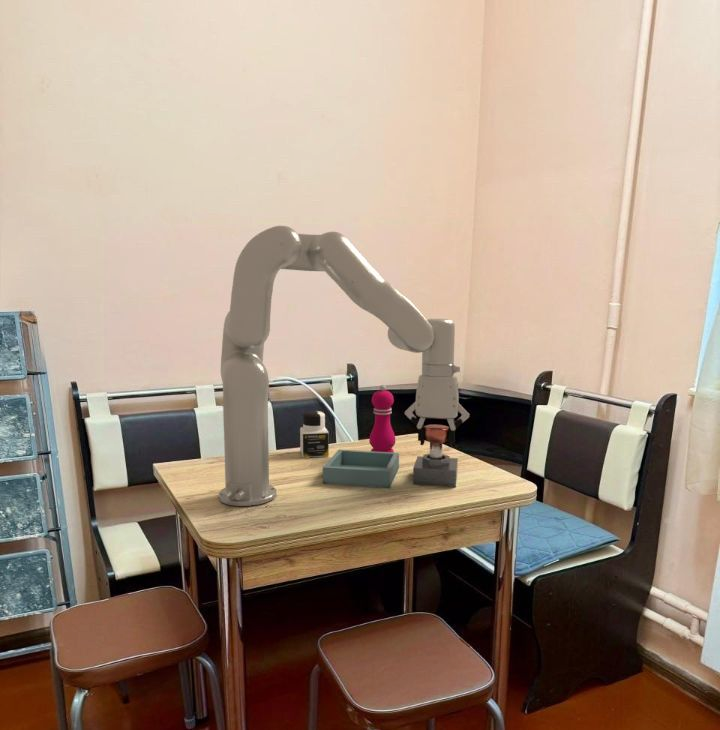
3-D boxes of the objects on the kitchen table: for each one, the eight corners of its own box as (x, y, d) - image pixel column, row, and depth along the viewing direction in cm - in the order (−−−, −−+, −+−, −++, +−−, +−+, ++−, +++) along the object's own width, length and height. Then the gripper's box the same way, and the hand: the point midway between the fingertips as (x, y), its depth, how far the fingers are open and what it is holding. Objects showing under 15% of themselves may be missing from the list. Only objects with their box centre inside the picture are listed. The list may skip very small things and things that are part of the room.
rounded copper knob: (448, 468, 144) (449, 425, 142) (447, 476, 138) (448, 431, 136) (424, 467, 145) (425, 424, 143) (421, 474, 139) (422, 429, 138)
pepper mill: (399, 454, 162) (400, 384, 160) (387, 461, 156) (387, 387, 154) (377, 451, 166) (378, 382, 164) (364, 457, 160) (364, 385, 158)
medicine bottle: (303, 458, 159) (302, 415, 157) (300, 451, 166) (299, 410, 164) (328, 456, 160) (328, 414, 159) (325, 450, 167) (324, 409, 166)
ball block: (455, 487, 136) (456, 464, 135) (412, 484, 138) (413, 461, 137) (457, 474, 145) (457, 452, 145) (417, 471, 147) (417, 450, 147)
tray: (389, 488, 135) (389, 471, 134) (322, 483, 138) (322, 467, 137) (398, 467, 150) (399, 452, 150) (338, 464, 153) (338, 449, 153)
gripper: (474, 369, 140) (472, 442, 142) (403, 367, 144) (402, 438, 146) (474, 374, 133) (472, 451, 135) (399, 371, 136) (398, 446, 138)
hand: (436, 444), depth 140 cm, fingers closed on rounded copper knob, 6 cm apart
